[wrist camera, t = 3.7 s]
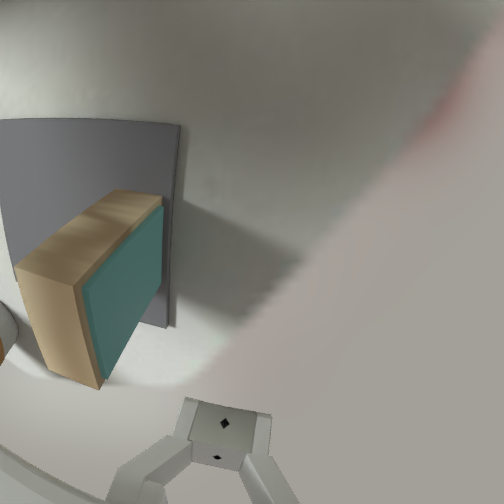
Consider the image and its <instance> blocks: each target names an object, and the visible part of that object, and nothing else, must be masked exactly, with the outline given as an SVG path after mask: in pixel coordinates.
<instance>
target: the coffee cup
mask: <svg viewBox="0 0 504 504" xmlns="http://www.w3.org/2000/svg"><path fill="white" fill-rule="evenodd" d="M17 334H18V328H17V324H16V322H15V320H14V318H13V317H12V315H11V313H10V312H9V311H8V309H7V308H6V307H5V306H4V305H3V304H2V303H1V302H0V366H1V364H2V362H3V361H4V358H5V356H6V355H7V353H8V352H9V350H10V349H11V347H12V346H13V344H14V343H15V341H16V340H17Z"/></svg>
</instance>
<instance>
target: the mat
mask: <svg viewBox="0 0 504 504" xmlns="http://www.w3.org/2000/svg"><path fill="white" fill-rule="evenodd" d="M179 134H180V125H174V124H164V123H154V122H142V121H129V120H114V119H92V118H24V119H3V120H0V206H1V213H2V219H3V225H4V231H5V236H6V241H7V246H8V250H9V255H10V259H11V263H12V267H13V271H14V275H15V279H16V281H17V277H16V273H15V269H14V266H15V265H16V264H18V263H19V262H20V261H21V260H22V259H23V258H25V257H26V256H27V255H28V254H29V253H31V252H32V251H33V250H34V249H35V248H37V247H38V246H39V245H40V244H41V243H43V242H44V241H45V240H46V239H48V238H49V237H50V236H51V235H53V234H54V233H55V232H56V231H58V230H59V229H60V228H62V227H63V226H64V225H66V224H67V223H68V222H70V221H71V220H72V219H74V218H75V217H76V216H78V215H79V214H80V213H82V212H83V211H84V210H86V209H87V208H89V207H90V206H91V205H93V204H94V203H96V202H97V201H98V200H100V199H101V198H103V197H104V196H106V195H107V194H109V193H110V192H112V191H113V190H114V189H116V188H118V189H124V190H130V191H137V192H143V193H149V194H155V195H161V196H162V206H164V213H163V235H162V270H161V285H160V286H159V288H158V290H157V292H156V293H155V295H154V297H153V298H152V300H151V302H150V303H149V305H148V307H147V309H146V310H145V312H144V314H143V316H142V317H141V319H140V321H139V322H142V323H146V324H150V325H154V326H158V327H161V328H165V329H167V327H168V324H169V268H170V244H171V225H172V210H173V196H174V184H175V172H176V162H177V152H178V142H179ZM17 282H18V281H17Z"/></svg>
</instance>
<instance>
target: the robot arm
mask: <svg viewBox="0 0 504 504" xmlns="http://www.w3.org/2000/svg"><path fill="white" fill-rule="evenodd" d="M271 425H272V416H271V414H265V413H259V412H255V411H249V410H243V409H238V408H232V407H226V406H222V405H217V404H213V403H208V402H204V401H200V400H197V399H193V398H188V397H185V399H184V400H183V402H182V405H181V408H180V411H179V414H178V417H177V420H176V423H175V427H174V430H173V433H172V435H166V436H165V437H163V438H162V439H160V440H159V441H158V442H156V443H155V444H153V445H152V446H150V447H149V448H148V449H146V450H145V451H143V452H142V453H140V454H139V455H137V456H136V457H134V458H133V459H132V460H130V461H128V462H127V463H125V464H124V465H122V466H121V467H119V468H118V469H117V472H116V475H115V477H114V480H113V482H112V485H111V487H110V489H109V492H108V494H107V497H106V500H105V501H104V500H102V499H99V498H97V497H95V496H93V495H90V494H88V493H86V492H84V491H81V490H79V489H77V488H75V487H73V486H71V485H69V484H67V483H65V482H63V481H61V480H59V479H57V478H55V477H54V476H52V475H50V474H48V473H46V472H45V471H43V470H41V469H39V468H37V467H36V466H34V465H32V464H31V463H29V462H27V461H26V460H24V459H22V458H21V457H20V456H18V455H16V454H15V453H13V452H12V451H10V450H9V449H7V448H6V447H4V446H3V445H2V444H0V504H168V501H167V497H166V493H165V489H164V486H165V485H166V484H167V483H168V482H170V481H171V480H172V479H173V478H174V477H176V476H177V475H178V474H179V473H180V472H181V471H183V470H184V469H185V468H186V467H187V466H188V465H189V464H190V463H191V462H196V463H201V464H205V465H210V466H215V467H220V468H224V469H229V470H234V471H238V472H239V475H240V477H241V479H242V482H243V484H244V486H245V488H246V490H247V493H248V495H249V497H250V499H251V501H252V503H253V504H300V502H299V501H298V499H297V497H296V496H295V494H294V492H293V491H292V489H291V487H290V486H289V484H288V483H287V481H286V479H285V477H284V476H283V474H282V472H281V471H280V469H279V467H278V466H277V464H276V462H275V460H274V459H273V457H271V456H268V454H269V444H270V435H271Z"/></svg>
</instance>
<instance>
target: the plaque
mask: <svg viewBox="0 0 504 504" xmlns="http://www.w3.org/2000/svg"><path fill="white" fill-rule="evenodd" d="M163 213H164V206H162V196H161V195H155V194H149V193H143V192H137V191H130V190H124V189H118V188H116V189H114V190H113V191H112V192H110V193H109V194H107V195H106V196H104V197H103V198H101V199H100V200H98V201H97V202H96V203H94V204H93V205H91V206H90V207H89V208H87V209H86V210H84V211H83V212H82V213H80V214H79V215H78V216H76V217H75V218H74V219H72V220H71V221H70V222H68V223H67V224H66V225H64V226H63V227H62V228H60V229H59V230H58V231H56V232H55V233H54V234H53V235H51V236H50V237H49V238H48V239H46V240H45V241H44V242H43V243H41V244H40V245H39V246H38V247H37V248H35V249H34V250H33V251H32V252H31V253H29V254H28V255H27V256H26V257H25V258H23V259H22V260H21V261H20V262H19V263H18V264H16V265H15V266H14V269H15V273H16V277H17V281H18V285H19V288H20V292H21V295H22V299H23V302H24V305H25V308H26V311H27V314H28V317H29V320H30V323H31V326H32V329H33V332H34V335H35V337H36V340H37V343H38V345H39V348H40V350H41V353H42V355H43V358H44V360H45V363H46V365H47V367H48V369H49V370H51V371H53V372H55V373H58V374H60V375H62V376H64V377H67V378H69V379H71V380H74V381H76V382H79V383H81V384H84V385H86V386H89V387H92V388H94V389H97V390H100V388H101V386H102V384H103V382H104V380H105V379H107V380H108V378H109V376H110V374H111V372H112V370H113V368H114V366H115V365H116V363H117V361H118V359H119V357H120V355H121V353H122V352H123V350H124V348H125V346H126V344H127V342H128V341H129V339H130V337H131V335H132V333H133V332H134V330H135V328H136V326H137V324H138V323H139V321H140V319H141V317H142V316H143V314H144V312H145V310H146V309H147V307H148V305H149V303H150V302H151V300H152V298H153V297H154V295H155V293H156V292H157V290H158V288H159V286H160V285H161V270H162V235H163Z"/></svg>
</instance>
